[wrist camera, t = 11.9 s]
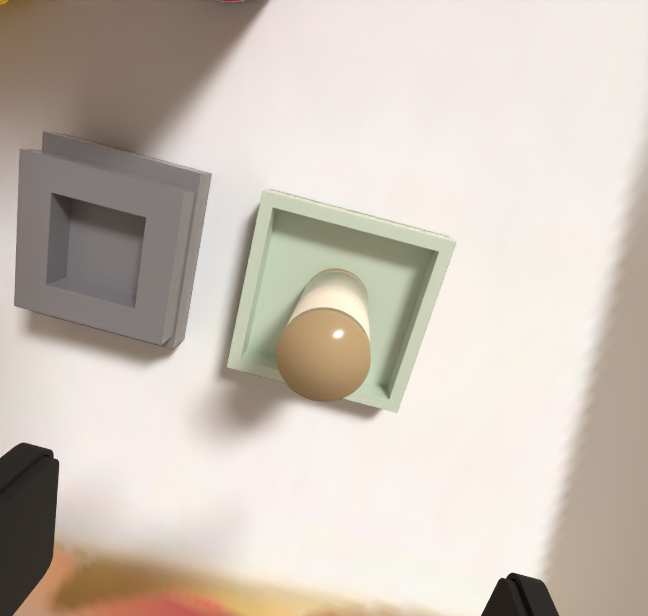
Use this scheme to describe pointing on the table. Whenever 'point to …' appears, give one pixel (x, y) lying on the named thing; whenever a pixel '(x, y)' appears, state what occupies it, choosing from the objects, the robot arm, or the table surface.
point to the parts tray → (348, 254)
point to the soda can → (231, 0)
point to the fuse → (327, 338)
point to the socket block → (108, 238)
